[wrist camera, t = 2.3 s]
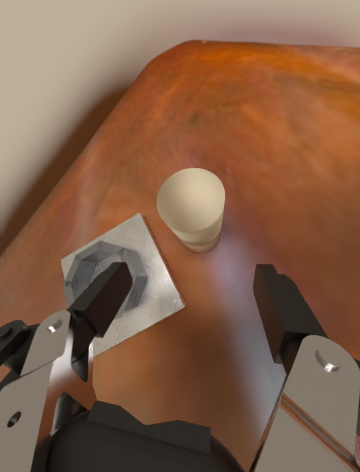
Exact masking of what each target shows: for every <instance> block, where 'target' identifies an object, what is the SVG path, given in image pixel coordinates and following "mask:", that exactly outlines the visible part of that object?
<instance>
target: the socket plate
mask: <svg viewBox="0 0 360 472" xmlns="http://www.w3.org/2000/svg"><path fill="white" fill-rule="evenodd" d="M113 262H126V263H127V265H128V268H129V271H130V273H131V276H132V279H133V285H132V288H131V290H130V292H129V293H128V295H127V297H126V299H125V300H124V302H123V304H122V306H121V307H120V309H119V311H118V313H117V314H116V316H115V318H114V320H113V321H112V323H111V325H110V327H109V328H108V330H107V332H106V334H105V335H104V337H103V338H98V337H94V339H93V340H92V344H93V357H95V356H96V355H98V354H100V353H102V352H104V351H106V350H107V349H109V348H111V347H113V346H115V345H116V344H118V343H120V342H122V341H124V340H126V339H127V338H129V337H131V336H133V335H135V334H137V333H138V332H140V331H142V330H144V329H146V328H148V327H149V326H151V325H153V324H155V323H157V322H158V321H160V320H162V319H164V318H166V317H168V316H169V315H171V314H173V313H175V312H177V311H179V310H180V309H182V308H184V307H185V306H186V305H187V304H186V302H185V300H184V298H183V296H182V294H181V292H180V290H179V288H178V286H177V284H176V282H175V279H174V277H173V275H172V273H171V271H170V269H169V267H168V265H167V263H166V261H165V259H164V257H163V255H162V252H161V250H160V248H159V246H158V244H157V242H156V240H155V238H154V236H153V234H152V232H151V230H150V228H149V225H148V223H147V221H146V219H145V217H144V216H143V215H142V214H141V213H138V214H136V215H135V216H133V217H131V218H130V219H128V220H126V221H125V222H123V223H121V224H120V225H118V226H116V227H115V228H113V229H111V230H110V231H108V232H106V233H105V234H103V235H101V236H100V237H98V238H96V239H95V240H93V241H91V242H90V243H88V244H86V245H85V246H83V247H81V248H80V249H78V250H76V251H75V252H73V253H71V254H70V255H68V256H66V257H65V258H63V259H61V264H62V269H63V273H64V278H65V281H64V283H63V287H64V292H65V297H66V301H67V306H68V308H69V307H70V306H71V305H72V304H73V302H74V301H75V300H76V299H77V298H78V297H79V296H80V295H81V294H82V292H83V291H84V290H85V289H86V288H88V286H89V285H90V283H91V282H93V280H94V279H95V278H96V277H97V276H98V275H99V274H100V273H101V272H103V271H104V270H106V269H107V268H108V267H109V266H110V265H111V264H112V263H113Z"/></svg>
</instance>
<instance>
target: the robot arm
mask: <svg viewBox="0 0 360 472" xmlns="http://www.w3.org/2000/svg"><path fill="white" fill-rule="evenodd" d="M132 285H133V279H132V276H131V273H130V271H129V268H128V265H127V263H126V262H113V263H112V264H111V265H110V266H109V267H108V268H107V269H106V270H104V271H103V272H101V273H100V274H99V275H98V276H97V277H96V278H95V279H94V280H93V282H91V283H90V285H89V286H88V288H86V289H85V290H84V291H83V292H82V294H81V295H80V296H79V297H78V298H77V299H76V300H75V301H74V302H73V304H72V305H71V306H70V307H69V308H68V309H67V310H63V311H59V312H56V313H54V314H52V315H51V316H49V317H48V318H46V319H45V320H44V321H43V322H42V323H40V324H36V325H31V326H27V325H26V324H25V323H24V322H23V321H22V320H15V321H12V322H10V323H7V324H5V325H4V326H2V327H0V366H1V365H2V364H4V365H5V366H6V367H8V368H9V369H11V371H10V372H9V373H8V374H7V376H6V377H5V378H4V379H3V380H2V381H1V383H0V472H245V471H244V470H243V468H242V467H241V465H240V464H239V463H238V461H237V460H236V458H235V457H234V456H233V455H232V454H231V452H230V451H229V450H228V449H227V448H226V447H225V446H224V445H223V444H222V443H221V442H219V441H218V440H217V439H215V438H214V437H213V436H211V428H209V427H205V426H201V425H197V424H193V423H188V422H184V421H180V420H176V421H170V422H164V423H158V424H152V425H144V424H142V423H141V422H140V421H138V420H137V419H136V418H135V417H133V416H132V415H131V414H130V413H128V412H127V411H126V410H125V409H123V408H122V407H121V406H118V405H114V404H110V403H106V402H101V401H97V399H96V394H95V391H94V388H93V344H92V340H93V339H94V337H98V338H103V337H104V335H105V334H106V332H107V330H108V328H109V327H110V325H111V323H112V321H113V320H114V318H115V316H116V314H117V313H118V311H119V309H120V307H121V306H122V304H123V302H124V300H125V299H126V297H127V295H128V293H129V292H130V290H131V288H132ZM253 289H254V295H255V299H256V302H257V306H258V309H259V313H260V316H261V319H262V323H263V326H264V330H265V333H266V337H267V340H268V343H269V347H270V350H271V354H272V357H273V361H274V363H278V364H283V366H284V369H285V372H286V377H285V379H284V382H283V385H282V387H281V390H280V392H279V395H278V398H277V400H276V403H275V405H274V408H273V411H272V413H271V416H270V418H269V421H268V423H267V426H266V428H265V431H264V433H263V435H262V438H261V440H260V443H259V445H258V448H257V450H256V453H255V456H254V458H253V461H252V463H251V466H250V469H249V471H248V472H360V467H359V466H358V465H357V463H356V460H355V440H356V434H358V435H359V436H360V361H358V360H356V359H354V358H352V357H351V355H350V354H349V353H348V352H347V351H346V350H345V349H343V348H342V347H341V346H340V345H338V344H337V343H335V342H333V341H332V340H330V339H329V338H328V336H327V335H326V334H325V332H324V330H323V329H322V327H321V325H320V324H319V322H318V321H317V319H316V317H315V316H314V314H313V312H312V311H311V309H310V308H309V306H308V304H307V303H306V301H304V298H303V296H302V294H301V293H300V291H299V290H298V288H297V286H296V285H295V283H294V282H293V281H292V280H291V279H290V278H288V277H287V276H286V275H285V274H278V273H277V271H276V269H275V267H274V266H273V265H272V264H257V265H256V270H255V277H254V284H253Z"/></svg>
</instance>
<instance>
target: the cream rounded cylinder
mask: <svg viewBox="0 0 360 472" xmlns="http://www.w3.org/2000/svg"><path fill="white" fill-rule="evenodd" d="M224 203H225V190H224V187H223V185H222V183H221V181H220V180H219V178H218V177H217V176H215V175H214V174H213V173H211V172H209V171H207V170H204V169H199V168H189V169H184V170H181V171H179V172H177V173H175V174H173V175H172V176H170V177H169V178H168V179H167V180H166V181H165V182H164V183H163V185H162V186H161V188H160V190H159V192H158V196H157V209H158V212H159V215H160V216H161V218H162V219H163V220H164V222H165V223H166V224H167V225H168V226H169V227H170V228H171V230H172V231H173V232H174V233H175V234H176V235H177V236H178V238H179V239H180V240H181V241H182V242H183V243H184V244H185V246H186V247H187V248H188V249H189V250H191V251H193V252H196V253H206V252H209V251H211V250H212V249H214V248H215V247H216V246H217V244H218V243H219V240H220V235H221V227H222V219H223V211H224Z"/></svg>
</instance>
